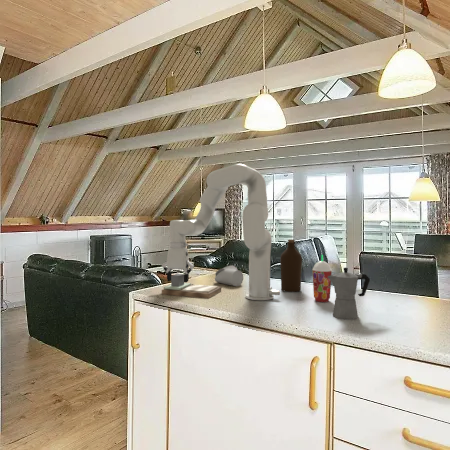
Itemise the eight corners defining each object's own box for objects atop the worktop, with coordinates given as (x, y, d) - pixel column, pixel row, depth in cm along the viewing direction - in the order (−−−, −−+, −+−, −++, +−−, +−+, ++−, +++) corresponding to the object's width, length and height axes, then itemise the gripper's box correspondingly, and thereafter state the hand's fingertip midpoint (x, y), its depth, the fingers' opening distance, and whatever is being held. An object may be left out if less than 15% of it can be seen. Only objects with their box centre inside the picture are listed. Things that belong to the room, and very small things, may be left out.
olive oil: (286, 293, 178) (286, 240, 177) (276, 288, 188) (276, 239, 187) (305, 291, 181) (306, 240, 180) (295, 287, 191) (295, 238, 190)
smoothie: (331, 299, 165) (332, 254, 164) (331, 303, 157) (332, 256, 156) (312, 298, 167) (312, 253, 166) (311, 302, 159) (311, 255, 158)
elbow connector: (204, 280, 206) (228, 285, 191) (207, 261, 207) (231, 264, 192) (228, 283, 217) (252, 288, 202) (231, 265, 218) (255, 269, 203)
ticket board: (221, 291, 182) (221, 285, 182) (209, 298, 167) (209, 291, 167) (176, 287, 190) (176, 282, 190) (161, 294, 175) (161, 288, 174)
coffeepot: (330, 319, 133) (331, 269, 132) (323, 312, 142) (324, 265, 142) (374, 319, 133) (374, 269, 132) (364, 312, 142) (365, 265, 142)
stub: (191, 284, 185) (191, 273, 185) (179, 290, 173) (179, 277, 173) (175, 283, 188) (175, 272, 188) (163, 288, 176) (163, 276, 176)
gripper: (197, 245, 181) (197, 281, 181) (165, 244, 186) (165, 279, 187) (191, 246, 174) (191, 284, 174) (157, 245, 179) (157, 281, 180)
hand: (177, 281), depth 181 cm, fingers open, 8 cm apart
